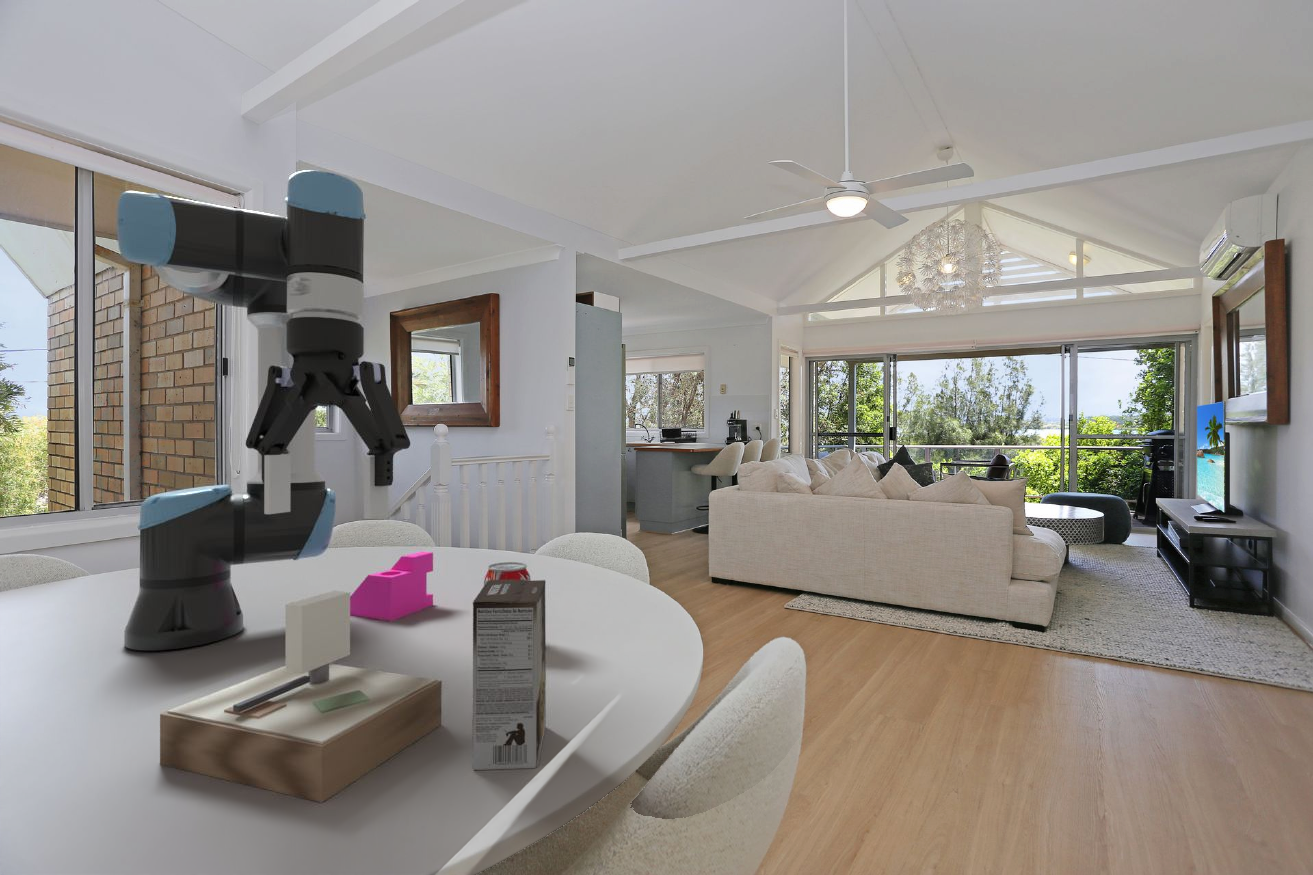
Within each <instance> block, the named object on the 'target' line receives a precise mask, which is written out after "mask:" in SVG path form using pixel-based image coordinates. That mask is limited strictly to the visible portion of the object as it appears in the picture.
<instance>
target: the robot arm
mask: <svg viewBox="0 0 1313 875" xmlns="http://www.w3.org/2000/svg"><path fill="white" fill-rule="evenodd" d="M284 203H285V204H286V216H283V215H277V214H271V213H266V212H260V211H254V210H247V209H241V208H233V207H230V206H229V207H227V206H222V205H216V204H211V203H207V202H206V203H205V202H201V201H194V200H190V199H184V198H178V197H172V196H168V195H165V194H163V193H159V192H157V193H147V192H142V191H135V190H128V191H127V190H126V191H124V192H122V193H121V194H120V195H119V197H118V200H117V208H116V210H117V211H116V227H117V229H116V230H117V243H118V249H119V253H120V255H121V257H123V259H124V260H126V261H129V262H131V263H137V264H144V265H149V266H151V267H153V268H154V270H155V272H156V274H157V275H158V276H159V277H160V278H161V280H162V281H164V282H165V284H167V285H168V286H169V287H171V288H172V289H175V290H177V291H179V292H181V293H182V294H186V295H187V296H190V297H193V298H196V299H198V300H203V301H205V302H207V303H208V302H209V303H212V304H213V303H214V304H216V305H220V306H227V307H229V306H230V307H237V308H238V307H239V308H246V317H247V318H246V319H247V320H248V321H249V323H251V325H253V326H254V328H256V330H257V411H256V414H255V416H254V419H253V421H252V425H251V427H250V430H249V432H248V434H247V437H246V440H245V446H246V448H248V449H253V450H255V451H257V470H256V472H255V474H253V475H252V476H251V477H250V478H249V479H248V480H247V481H246V492H235V493H233V489H232V488H231V486H230V485H229V484H216V485H206V486H198V487H190V488H184V489H183V488H182V489H178V490H172V491H167V492H163V493H162V492H161V493H158V494H157V493H156V494H153V495H151V496H149V497H147V498H146V499H145V500H143V502H142V503H141V505H140V515H139V516H140V518H139V524H138V526H137V529H138V530H140V531H139V532H140V533H139V540H140V542H139V587H138V588H139V591H138V594H137V598H136V601H135V602H134V605H133V607H132V610H131V613H130V615H129V618H128V622H127V625H126V626H125V628H124V634H123V635H124V643H123V645H124V647H125V648H127V649H131V650H136V651H166V650H175V649H183V648H189V647H195V646H196V647H197V646H201V645H206V644H210V643H213V642H217V641H222V640H224V639H227V638H230V637H233V636H234V635H237V634H238V633H240V632H241V631H242V630H243V629H244V613H243V611H242V608H241V605H240V603H239V601H238V600H239V599H238V597H237V595H236V592H235V590H234V587H233V585H232V581H231V580H232V577H231V574H232V573H231V572H232V570H231V569H232V566H236V565H247V564H256V563H258V564H259V563H268V562H277V561H288V560H289V561H290V560H293V561H298V560H300V559H301V560H302V559H306V558H307V559H308V558H316V557H318V556H321V555H323V554H324V553H325V552H326V551H327V549H328V547H329V545H330V542H331V539H332V535H333V529H334V526H335V517H336V499H337V498H336V492H335V491H334V490H333V489H330V488H328V487H327V488H326V478H324V477H323V476H322V475H321V474H320V473H318V471H317V468H316V409H317V408H318V407H329V406H332V407H333V406H336V407H337V408H339V409H340V410H342V412H343V413H344V415H345V417H346V418H347V420H348V421H349V422H350V424H351V425H352V427H353V428H354V429H355V432H356V433H357V434H358V436H359V437H360V439H361V440H362V441H363V443H364V444H365V445H366V447H367V449H368V452H367V453H366V454H367V455H363V519H365V520H372V519H379V518H385V517H389V487H390V486H392V484H393V481H394V457H395V456H394V455H395V454H396V453H398V452H400V451H402V450H407V449H409V448H410V446H411V440H410V438H409V435H408V433H407V431H406V429H405V426H404V424H403V421H402V418H401V416H400V414H399V411H398V409H397V407H396V403H395V402H394V399H393V396H392V395H391V391H390V389H389V387H388V385H387V379H386V378H387V377H386V375H387V374H386V366H384V364H382V363H377V362H373V361H366V360H365V361H364V360H362V361H360V362H359V359H361V358H362V357H363V356H364V352H365V349H364V348H365V347H364V346H365V345H364V343H365V341H364V340H365V337H364V334H365V332H364V331H365V330H364V327H363V325H362V323H361V324H360V323H359V322H361V321H363V320H364V318H365V304H364V302H365V299H364V298H365V297H364V296H365V295H364V294H365V293H364V292H365V291H364V288H365V286H364V247H365V246H364V241H365V240H364V238H365V235H364V234H365V220H366V213H365V207H364V194H363V190H362V189H361V187H360V186H359V185H358V184H357V183H356V182H355V181H353V180H351V179H350V178H348V177H345V176H344V175H341V174H337V173H334V172H328V171H323V170H312V169H311V170H301V171H300V170H299V171H297V172H295V173H293V174H291V175H290V176H289V178H288V180H287V188H286V198H285V202H284ZM359 383H360V385H361V388H362V391H361V389H360V388H359V387H358V384H359Z"/></svg>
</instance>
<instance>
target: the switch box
mask: <svg viewBox="0 0 1313 875" xmlns="http://www.w3.org/2000/svg"><path fill="white" fill-rule="evenodd" d="M303 676H308V672H306V673H304V674H297V673H290V672H286V665H284V666H281V667H278V668H276V669H273V670H270V671H268V672H264V673H262V674H260V675H257V676H254V677H252V678H250V679H246V680H245V681H242V682H238V683H237V684H234V685H231V686H229V687H226V688H223V689H221V690H218V691H216V692H213V693H210V694H207V695H205V696H203V697H202V696H201V697H199V698H197V699H194V700H193V701H190V702H187V703H184V704H181V705H179V706H176V707H174V708H171V709H169V710H168V709H167V711H164V712H161V713H160V714H159V765H162V766H166V767H171V768H176V769H180V770H184V771H187V772H192V773H196V774H201V775H205V776H208V777H212V778H213V777H214V778H217V779H221V780H226V781H230V782H233V783H238V784H243V785H246V786H251V787H255V788H259V789H263V790H268V791H271V792H276V793H280V794H285V795H288V796H293V797H296V798H301V799H306V800H309V801H314V802H318V803H321V804H322V803H324V802H325V801H326V800H328V799H330V798H332V797H333V796H334V795H336V794H337V793H339V792H340V791H342V790H343V789H345V788H346V787H349V785H351V784H353V783H355V782H356V781H357V780H359V779H360V778H362V777H363V776H365V775H367V774H369V773H370V772H371V771H373V770H374V769H375V768H377V767H378V766H380V765H382V764H383V763H384V762H386V761H387V760H389V759H391V758H392V757H394V756H396V755H397V754H398V753H399V754H400V752H402V751H403V750H405V749H406V748H407V747H410V746H411V745H413V744H414V743H415V742H417V741H418V740H420V739H422V738H423V737H425V736H427V735H428V734H429V733H431V732H432V731H433V730H435V729H437V728H439V727H440V726H441V725H442V685H443V684H442V679H441V680H440V679H434V678H428V677H423V676H422V677H421V676H415V675H408V674H401V673H393V672H389V671H382V670H381V671H380V670H375V669H367V668H361V667H360V668H359V667H353V666H349V665H348V666H347V665H341V664H340V665H339V664H334V663H329V679H328V680H326V681H324V682H320V683H310V682H309V683H307V684H304V685H302V686H300V687H297V688H295V689H293V690H290V691H288V692H286V693H283V694H281V695H279V696H276V697H274V698H272V699H269V700H267V701H265V702H262V703H260V704H258V705H255V706H253V707H251V708H248V709H246V710H244V711H241V712H233V705H235V704H237V703H240V702H242V701H245V700H247V699H249V698H252V697H254V696H257V695H259V694H261V693H264V692H266V691H269V690H271V689H274V688H276V687H278V686H281V685H283V684H286V683H288V682H291V681H293V680H295V679H298V678H300V677H303Z"/></svg>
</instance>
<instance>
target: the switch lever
mask: <svg viewBox="0 0 1313 875" xmlns="http://www.w3.org/2000/svg"><path fill="white" fill-rule="evenodd" d="M350 596H351V592H349V591H342V590H332V591H328V592H324V593H322V594H318V595H314V596H311V597H307V598H304V599H301V600H297V601H294V602H290V603H286V604H285V666H286V672H290V673H297V674H304V673H306V672H308V676H303V677H300V678H298V679H295V680H293V681H291V682H288V683H286V684H283V685H281V686H278V687H276V688H274V689H271V690H269V691H266V692H264V693H261V694H259V695H257V696H254V697H252V698H249V699H247V700H245V701H242V702H240V703H237V704H235V705H233V712H241V711H244V710H246V709H248V708H251V707H253V706H255V705H258V704H260V703H262V702H265V701H267V700H269V699H272V698H274V697H276V696H279V695H281V694H283V693H286V692H288V691H290V690H293V689H295V688H297V687H300V686H302V685H304V684H307V683H309V682H310V683H320V682H324V681H326V680H328V679H329V664H332V663H333V662H335V661H337V660H340V659H343V658H345V657H348V656H350V655H351V615H350Z"/></svg>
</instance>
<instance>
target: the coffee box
mask: <svg viewBox="0 0 1313 875" xmlns="http://www.w3.org/2000/svg"><path fill="white" fill-rule="evenodd" d="M546 637H547V636H546V579H541V580H538V579H537V580H531V581H527V580H489V581H487V583H486V584H485V586H484V585H483V587H482V588H481V590H480V591H479V593H478V594H477V596H476V597H475V598H474V600H473V602H472V770H473V771H485V770H488V771H490V770H513V769H514V770H515V769H518V770H519V769H536V768H538V767H539V763H540V759H541V752H542V747H543V742H544V738H545V737H544V736H545V732H546V731H545V730H546V725H547V714H546V713H547V712H546V711H547V710H546V709H547V708H546V707H547V706H546V705H547V704H546V701H547V700H546V699H547V697H546V694H547V693H546V691H547V690H546V689H547V688H546V684H547V682H546V681H547V680H546V679H547V676H546V674H547V673H546V671H547V669H546V664H547V663H546V656H547V655H546V649H547V648H546V643H547V642H546Z"/></svg>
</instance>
